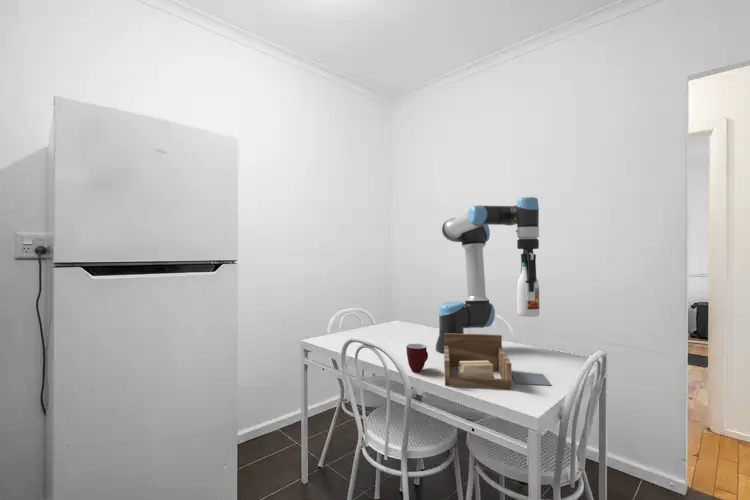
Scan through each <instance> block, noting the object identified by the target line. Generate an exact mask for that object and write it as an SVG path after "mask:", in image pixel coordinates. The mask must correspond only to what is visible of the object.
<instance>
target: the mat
mask: <svg viewBox="0 0 750 500" xmlns="http://www.w3.org/2000/svg"><path fill="white" fill-rule="evenodd" d="M511 378H512V380H514V382H515V384H516V385H527V386H544V387H545V386H548V387H552V383H551V382H550V381H549V380H548V378H547V377H546V376H545V375H544V374H543V373H536V372H535V373H534V372H533V373H531V372H512V371H511Z"/></svg>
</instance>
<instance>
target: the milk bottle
mask: <svg viewBox="0 0 750 500" xmlns="http://www.w3.org/2000/svg"><path fill="white" fill-rule="evenodd" d="M521 266H522V273H521V272H520V275H519V278H518V280H517V285H516V287H517V288H516V293H517V294H516V297H517V299H516V300H517V301H516V306H517V308H516V312H517V313H516V314H517V315H518V316H521V317H526V318H527V317H529V318H531V317H534V318H535V317H539V315H540V284H539V281H538V278H537V277H536V279H537V281H536V282H535V301H527V283H525V281H527V271H526V266H525V265H524V263H520V267H521Z"/></svg>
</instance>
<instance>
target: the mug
mask: <svg viewBox="0 0 750 500" xmlns="http://www.w3.org/2000/svg"><path fill="white" fill-rule="evenodd" d="M406 356H407V364H408V366H409V368H410V370H411V371H412V372H414V373H420V372H422V370H423V368H424V367H425V364H426V361H427V360H428V358H429V353H428V351H427V345H426V344H424V343H423V344H422V343H408V344H407V345H406Z"/></svg>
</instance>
